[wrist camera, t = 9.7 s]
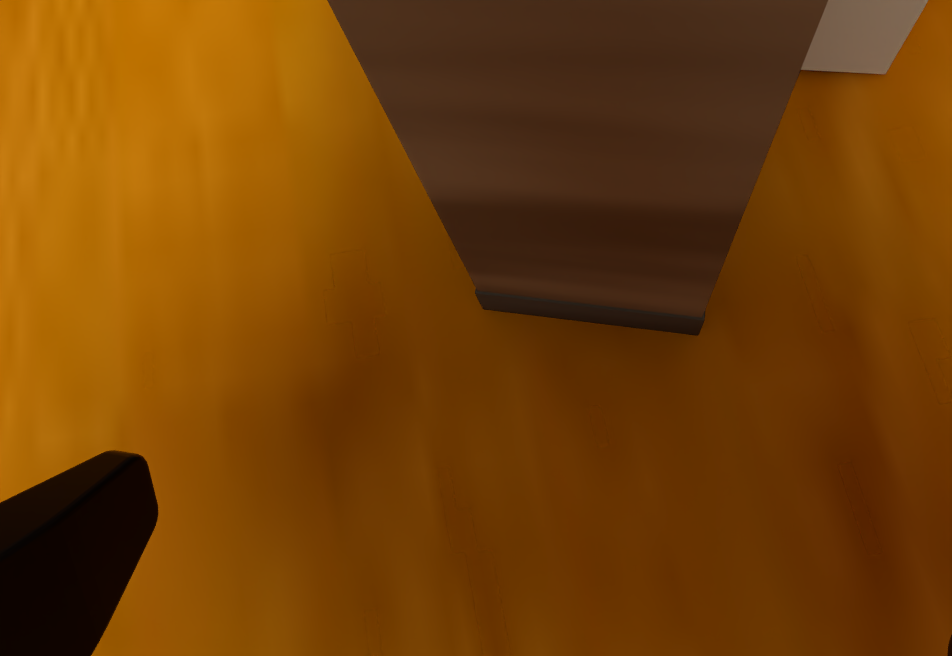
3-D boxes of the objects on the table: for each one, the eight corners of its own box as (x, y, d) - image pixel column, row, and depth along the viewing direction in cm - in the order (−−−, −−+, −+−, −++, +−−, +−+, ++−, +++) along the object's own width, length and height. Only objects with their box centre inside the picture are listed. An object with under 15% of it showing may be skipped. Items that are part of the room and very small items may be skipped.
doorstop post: (698, 335, 17) (917, -196, 5) (483, 308, 18) (210, -202, 6) (719, 135, 18) (948, -725, 6) (515, 119, 19) (342, -665, 7)
